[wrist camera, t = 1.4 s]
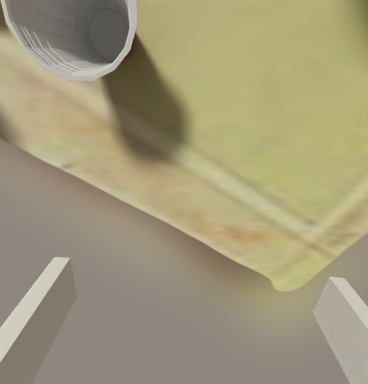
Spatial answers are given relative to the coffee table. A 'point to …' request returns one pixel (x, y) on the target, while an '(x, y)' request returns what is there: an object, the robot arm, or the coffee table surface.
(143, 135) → the coffee table surface
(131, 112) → the coffee table surface
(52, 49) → the plastic cup
